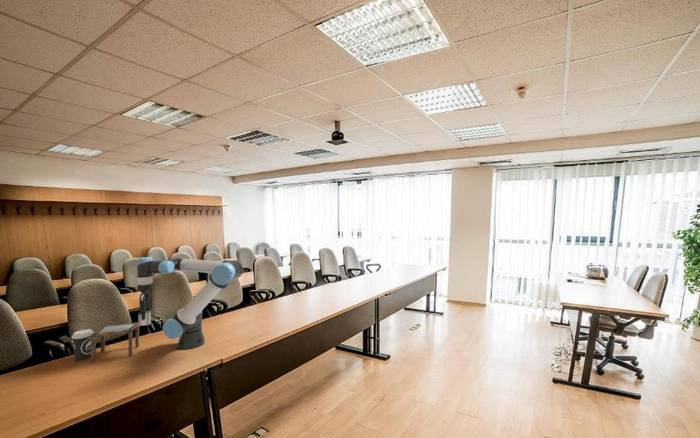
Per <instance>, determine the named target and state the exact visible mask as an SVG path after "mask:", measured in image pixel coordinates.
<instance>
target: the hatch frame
mask: <svg viewBox="0 0 700 438" xmlns="http://www.w3.org/2000/svg"><path fill="white" fill-rule="evenodd" d="M130 324H134V325H133V326H132V327H131V329H130V330H121V331H112V332H103V333H99V332H100V331H101V330H102V329H104V328H105V327H111V326H121V325H130ZM134 330H135V331H134ZM133 331H134V332H133ZM93 332H94V333H93V334H92V335H91V357H90V361H91V363H94V362H96V360H97V359H96V358H97V337H100V353H101V354H102V353H104V352H106V336H111V335H118V334H128V349H127V350H128V353H127V354H128V357H130V358H131V357H132V356H133V336H134V339H135V341H134V344H135V345H134V348H135V349H139V348H140V347H139V346H140V326H138V322H131V323H130V322H129V323H122V324H121V323H120V324H111V325H102V326H100V327H99V328H98V329H97V330H95V331H93ZM133 333H134V334H135V335H133Z"/></svg>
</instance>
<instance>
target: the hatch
mask: <svg viewBox="0 0 700 438" xmlns="http://www.w3.org/2000/svg"><path fill="white" fill-rule="evenodd" d="M133 325H134V324H130V325H121V326H111V327H105V328H104V329H102V330H101V331H100V332H99V333H103V332H112V331H121V330H130V329H131V327H132V326H133Z"/></svg>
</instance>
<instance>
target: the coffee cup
mask: <svg viewBox="0 0 700 438" xmlns="http://www.w3.org/2000/svg"><path fill="white" fill-rule="evenodd" d="M94 332H95V331H93V329H91V328H89V329H88V328H87V329H81V330H78V331H76V332H73V334H72V336H71V339H72V344H73V355H74V361H75V362H82V361H86V360H88V359H91V335H92V334H93V333H94Z"/></svg>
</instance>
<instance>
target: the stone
mask: <svg viewBox="0 0 700 438" xmlns="http://www.w3.org/2000/svg"><path fill="white" fill-rule="evenodd" d="M146 313H147V325H146V326H150V324H151V323H152V310H149V311H146ZM137 319H138V320H137V321H138V322H137V323H138V326H139V327H141V326H145V325H141V314H140V315H139V313H138V317H137Z"/></svg>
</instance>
